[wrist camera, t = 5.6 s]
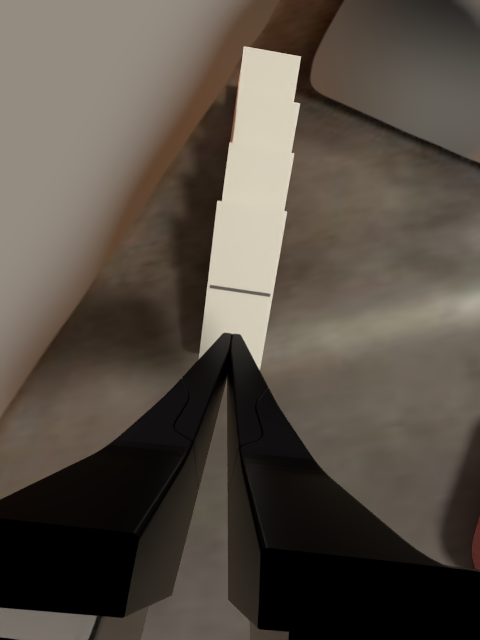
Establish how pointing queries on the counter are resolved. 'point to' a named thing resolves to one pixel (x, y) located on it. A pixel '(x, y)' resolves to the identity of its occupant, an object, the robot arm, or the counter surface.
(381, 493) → the counter surface
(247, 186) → the domino
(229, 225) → the domino
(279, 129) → the domino
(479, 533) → the plaque
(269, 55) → the domino
